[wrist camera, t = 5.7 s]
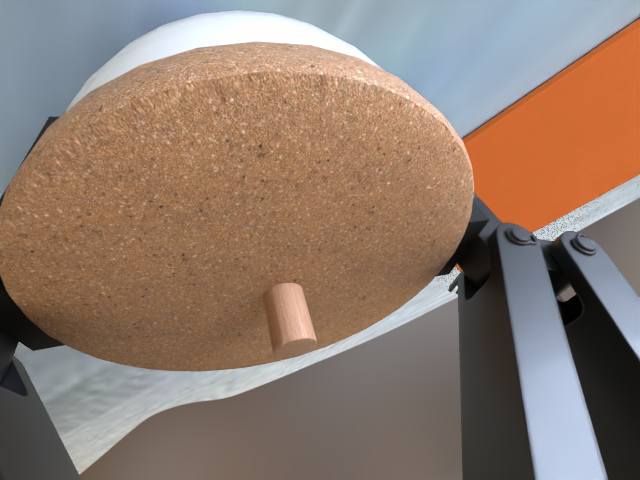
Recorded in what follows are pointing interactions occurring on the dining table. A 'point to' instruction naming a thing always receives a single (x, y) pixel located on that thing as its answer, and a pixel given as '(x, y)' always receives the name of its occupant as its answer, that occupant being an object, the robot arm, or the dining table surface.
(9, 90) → the dining table surface
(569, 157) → the mat
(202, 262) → the trinket box
